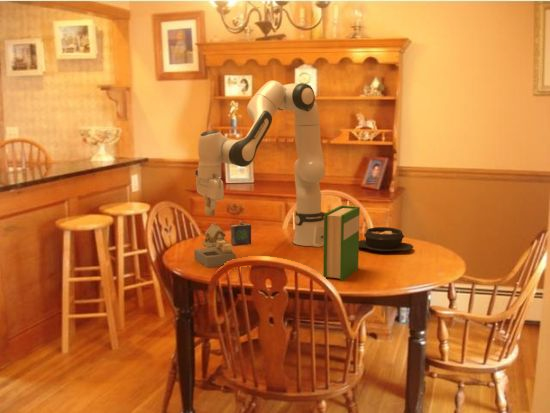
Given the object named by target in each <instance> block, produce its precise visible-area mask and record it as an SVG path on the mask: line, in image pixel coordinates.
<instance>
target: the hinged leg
mask: <svg viewBox="0 0 550 413" xmlns="http://www.w3.org/2000/svg"><path fill="white" fill-rule="evenodd" d="M216 247H217V248H218V249H220V250H221V251H223V252H224V253H231V252H233V251H234V250H233V246H232V245H231V243H229V242H227V241H224V240H217V241H216ZM233 253H234V252H233Z"/></svg>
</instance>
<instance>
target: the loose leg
mask: <svg viewBox="0 0 550 413" xmlns="http://www.w3.org/2000/svg"><path fill="white" fill-rule="evenodd" d="M210 204H211V201H210V198H208V197H207V196H206V195H205V202H204V216H206V217H213V216H215V215H216V213H215V212H216V209H215V210H211V209H210Z"/></svg>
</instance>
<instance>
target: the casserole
mask: <svg viewBox="0 0 550 413" xmlns="http://www.w3.org/2000/svg"><path fill="white" fill-rule="evenodd" d="M363 236H364V237H365V239H359V248H362V249H367V250H369V251H372V252H377V253H386V254H387V253H388V254H389V253H394V252H401V251H402V252H407V251H410V250H412V249H413V248H414V246H413V245H412V244H411V243H407V242H403V239H404V238H405V235H404V234H403V231H402V230H401V229H398V228H394V227H387V226H385V227H381V226H378V227H376V226H375V227H370V228H367V229H366V232H365V233H364V234H363Z"/></svg>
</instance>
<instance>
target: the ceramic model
mask: <svg viewBox="0 0 550 413" xmlns="http://www.w3.org/2000/svg"><path fill="white" fill-rule="evenodd" d="M204 235H205V239H203V241H202V245H203V246H204V247H205V248H210V247H216V241H217V240H224V241H226V239H225V237H226V233H225V231H224V230H223V229H221V227H220V225H218V223H216V222H214V223H211V224H210V226H209V227H208V228H206V231H205V232H204ZM226 242H227V241H226Z"/></svg>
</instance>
